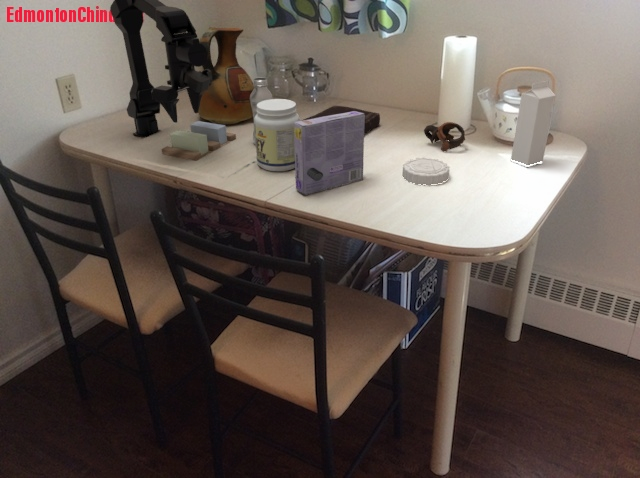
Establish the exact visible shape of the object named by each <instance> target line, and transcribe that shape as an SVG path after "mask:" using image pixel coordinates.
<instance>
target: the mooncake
mask: <svg viewBox="0 0 640 478" xmlns="http://www.w3.org/2000/svg"><path fill="white" fill-rule="evenodd" d="M402 176H403V177H404V178H403V177H402ZM402 176H401V177H402V178H403V180H404V179H406V180H405V181H408V183H410V182H412V183H411V184H413V183H415V184H414V185H418V184H421V185H423V184H426V185H431V184H438V183H442V182H443V181H446V180H447V179H448V178H450V166H449V165H448V163H445V162H444V161H443V160H439V159H436V158H429V157H416V158H415V159H410V160H407V161H405V162H404V163H403V165H402ZM448 180H449V179H448ZM448 180H447V181H448ZM421 185H420V186H421ZM438 185H439V184H438ZM431 186H432V185H431Z"/></svg>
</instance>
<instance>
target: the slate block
mask: <svg viewBox="0 0 640 478" xmlns="http://www.w3.org/2000/svg"><path fill="white" fill-rule="evenodd" d="M226 125H227V124H217V123H212V122H206V121H201V120H198V121H195V122H193V123H192V124H190V125H189V127H190V132H193V133H199V134H204V135H207V140H210V141H215V142H220V145H222V144H224V143H226V142H227V134H226V132H227V126H226Z"/></svg>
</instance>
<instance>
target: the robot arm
mask: <svg viewBox="0 0 640 478" xmlns="http://www.w3.org/2000/svg"><path fill="white" fill-rule="evenodd" d="M109 10H110V15H111V16H112V18H113V23H114V24H115V26H116V27H117V28H118V29H119V31H121V33H122V36H123V40H124V45H125V50H126V56H127V60H128V65H129V70H130V75H131V79H132V85H131V87H130V90H129V102H128V105H127V107H126V112H127V114H128V117H129V118H132V119H133V120H134V126H135V132H133V133H132V135H133V136H137V137H141V138H148V137H150V136H153V135H155V134H157V133H159V132H162V130H161V129H159V125H158V120H157V117H156V116H157V114H160V113H161V107H163V109H164V110H165V112H166V114H167V115H168V116H169V118H170V119H171V121H172V122H173V123H175V124H176V123H178V112H177V111H178V110H177V109H178V108H177V104H178V103H179V101H180V98H178V96H179V93H180V92H182V91H186V92H187V95H188V98H189V101H190V104H191V107H192V111H193V113H194V114H198V111H199V106H200V101H201V97H202V94H203V93H204V92H205V91H206V90H208V88H209V86H210V85H211V83H212V82H213V80H212V73H211V71H210V70H208V69H206V70H204V69H203V70H202V71H201V70H199V71H197V70H196V69H195V67H203V66H202V65H204V64H205V62H206V60H207V57H208V52H207V50H206V48H205V47H204V46H203V45H202V44H200V43H199V41H200V38H198V34H197V30H196V28H195V27H194V25H193V24H192V22H191V20H190V18H189V16H188V14H187V13H186V11H185V10H184V9H181V8H180V7H175V6H168V5H166V4H164V3H163V2H162V1H160V0H113V2H112V3H111V4H110V8H109ZM144 14H145V15H146V16H148V17H149V18H150V19H152V20H153V21H154V22H155V26H156V29H158V30H159V32H161V34H162V35H163V36H162V37H161V39H160V40H161V42H163V43H164V45H165V53H166V59H167V64H165V65H164V70H167V71H168V74H169V80H167V81H166V83H167V85H159V86H156V87H154V85H153V84H152V83H151V82H150V77H149V73H148V67H147V62H146V56H145V51H144V45H143V41H142V35H141V29H142V27H143V24H144V22H145V21H144Z"/></svg>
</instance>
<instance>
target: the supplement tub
mask: <svg viewBox="0 0 640 478" xmlns="http://www.w3.org/2000/svg"><path fill="white" fill-rule="evenodd" d="M297 121H301V117H300V115H299V114H298V113H297V103H296V101H293V100H290V99H284V98H273V99H270V100H264V101H261V102H259V103H258V104H257V114H256V116H255V118H254V119H253V125H254V124H255V138H256V145H255V152H256V162H257V164H258V166H259V167H260V168H262V169H263V170H266V171H271V172H285V171H290V170H293V169H294V170H295V143H294V122H297Z"/></svg>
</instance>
